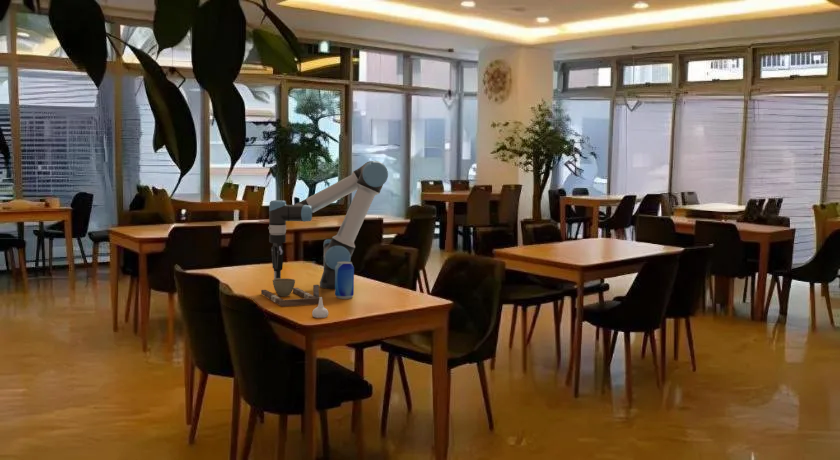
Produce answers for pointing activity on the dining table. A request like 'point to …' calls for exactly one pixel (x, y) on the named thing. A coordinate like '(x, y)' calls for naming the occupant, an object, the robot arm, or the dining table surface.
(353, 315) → the dining table surface
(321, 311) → the garlic bulb
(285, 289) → the flower pot
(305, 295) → the rail channel
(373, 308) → the dining table surface
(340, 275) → the beer can
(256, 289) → the dining table surface
